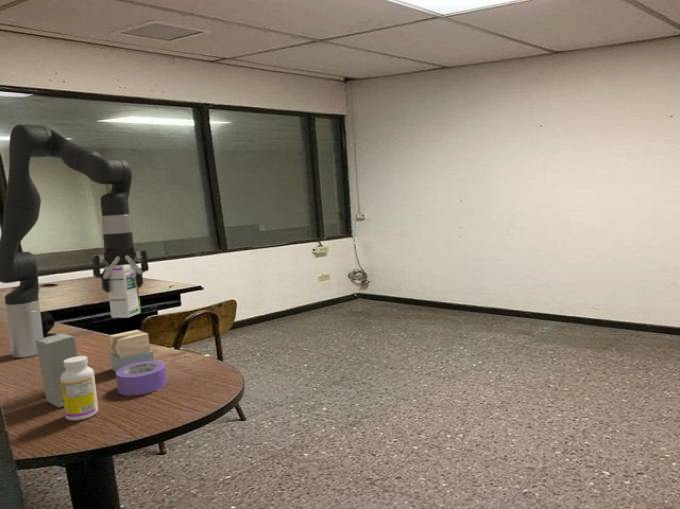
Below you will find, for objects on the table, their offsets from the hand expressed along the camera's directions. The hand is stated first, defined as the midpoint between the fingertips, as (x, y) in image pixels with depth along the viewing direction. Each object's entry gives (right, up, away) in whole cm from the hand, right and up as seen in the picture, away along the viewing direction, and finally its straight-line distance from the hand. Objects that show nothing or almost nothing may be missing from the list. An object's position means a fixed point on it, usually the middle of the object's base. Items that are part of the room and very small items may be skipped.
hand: (123, 289), depth 144 cm
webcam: (-46, -21, +43) cm, 67 cm away
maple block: (+1, -18, +2) cm, 18 cm away
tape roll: (+11, -24, -13) cm, 30 cm away
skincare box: (-6, -26, -20) cm, 33 cm away
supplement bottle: (+3, -26, -30) cm, 40 cm away
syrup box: (0, -7, +1) cm, 8 cm away
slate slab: (+2, -23, +2) cm, 23 cm away
